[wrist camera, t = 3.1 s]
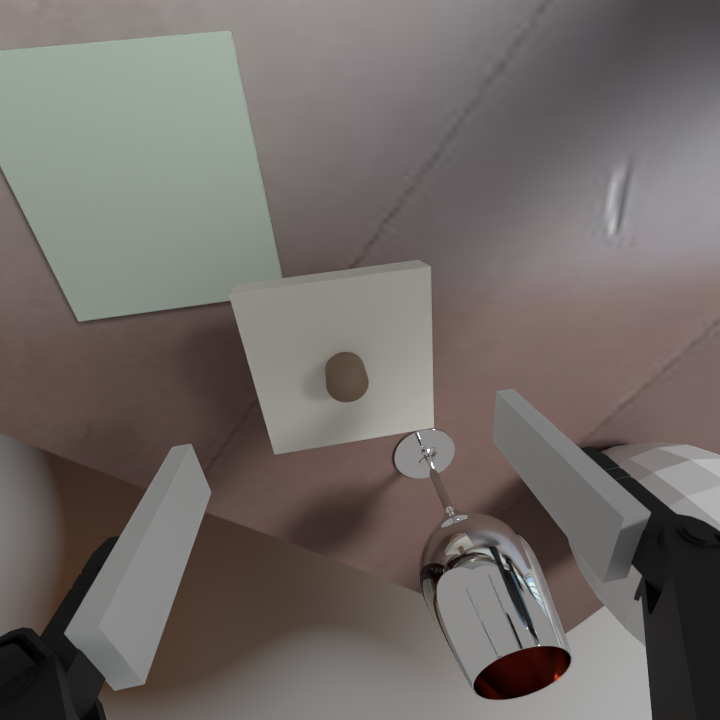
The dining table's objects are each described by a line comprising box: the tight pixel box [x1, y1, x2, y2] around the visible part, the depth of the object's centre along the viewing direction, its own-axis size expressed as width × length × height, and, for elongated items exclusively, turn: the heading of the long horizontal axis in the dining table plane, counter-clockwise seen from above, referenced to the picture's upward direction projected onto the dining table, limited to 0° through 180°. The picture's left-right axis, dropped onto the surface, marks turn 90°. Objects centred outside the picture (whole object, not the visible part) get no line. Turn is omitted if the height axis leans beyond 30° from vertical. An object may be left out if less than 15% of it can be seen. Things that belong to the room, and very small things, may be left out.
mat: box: [0, 31, 283, 322], centre depth 22 cm, size 15×15×1 cm
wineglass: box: [394, 428, 572, 701], centre depth 26 cm, size 8×8×18 cm
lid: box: [229, 260, 434, 455], centre depth 21 cm, size 11×11×4 cm
